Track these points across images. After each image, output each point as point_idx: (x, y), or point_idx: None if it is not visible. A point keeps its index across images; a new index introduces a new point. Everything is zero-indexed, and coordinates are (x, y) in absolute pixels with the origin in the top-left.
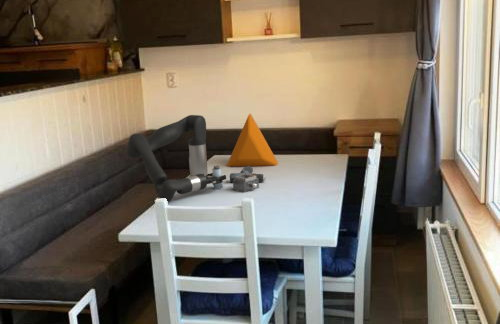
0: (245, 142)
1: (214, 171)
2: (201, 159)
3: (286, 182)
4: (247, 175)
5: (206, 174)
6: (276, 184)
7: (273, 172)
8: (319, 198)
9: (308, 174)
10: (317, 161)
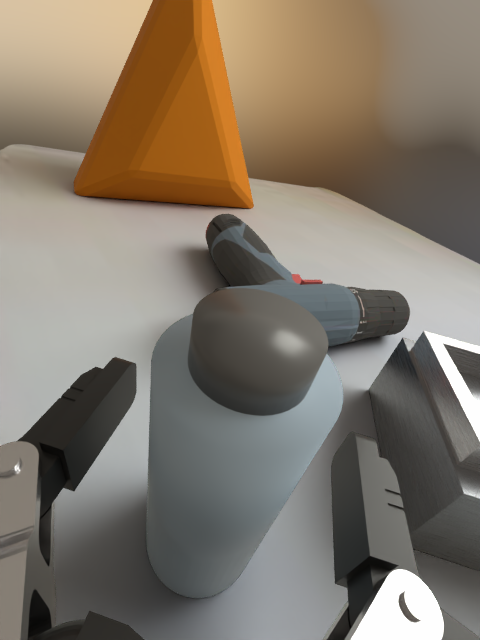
0: (177, 90)
1: (251, 474)
2: None
3: (462, 325)
4: (459, 356)
5: (7, 596)
6: None
7: (298, 245)
8: None
9: (412, 261)
10: (323, 203)
